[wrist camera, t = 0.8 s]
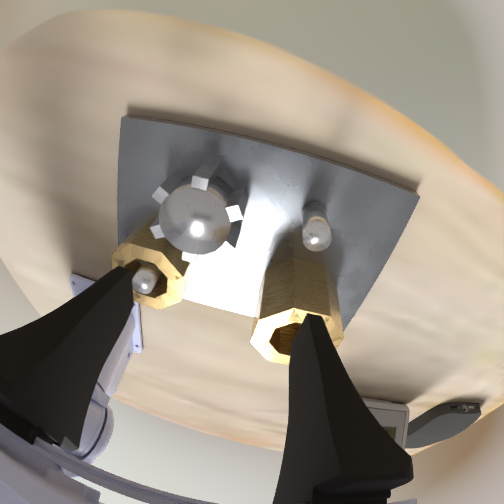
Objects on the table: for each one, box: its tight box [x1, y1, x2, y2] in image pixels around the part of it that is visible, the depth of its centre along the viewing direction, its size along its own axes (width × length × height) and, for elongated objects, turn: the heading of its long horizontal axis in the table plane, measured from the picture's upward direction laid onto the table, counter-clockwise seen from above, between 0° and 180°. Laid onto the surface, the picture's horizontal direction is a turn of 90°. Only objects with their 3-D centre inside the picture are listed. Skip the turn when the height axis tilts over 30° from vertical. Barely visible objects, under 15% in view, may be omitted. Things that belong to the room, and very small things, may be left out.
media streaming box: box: [405, 403, 481, 448], centre depth 37 cm, size 15×15×3 cm
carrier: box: [111, 115, 420, 331], centre depth 20 cm, size 14×20×4 cm
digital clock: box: [361, 397, 409, 451], centre depth 30 cm, size 16×9×11 cm, turn 59°
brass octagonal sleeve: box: [250, 258, 344, 365], centre depth 20 cm, size 6×6×5 cm
